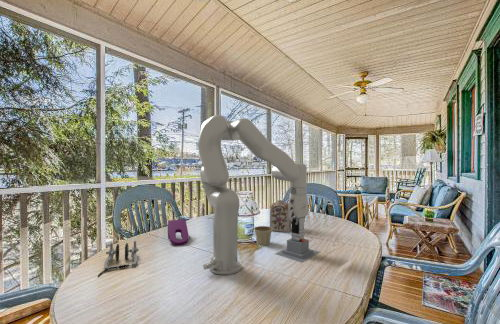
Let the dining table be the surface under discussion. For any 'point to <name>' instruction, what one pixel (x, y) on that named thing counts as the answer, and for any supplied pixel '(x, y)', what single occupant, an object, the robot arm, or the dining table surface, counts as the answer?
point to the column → (299, 231)
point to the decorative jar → (280, 216)
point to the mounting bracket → (176, 227)
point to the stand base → (298, 250)
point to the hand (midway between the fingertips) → (297, 231)
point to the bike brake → (116, 252)
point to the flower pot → (263, 235)
